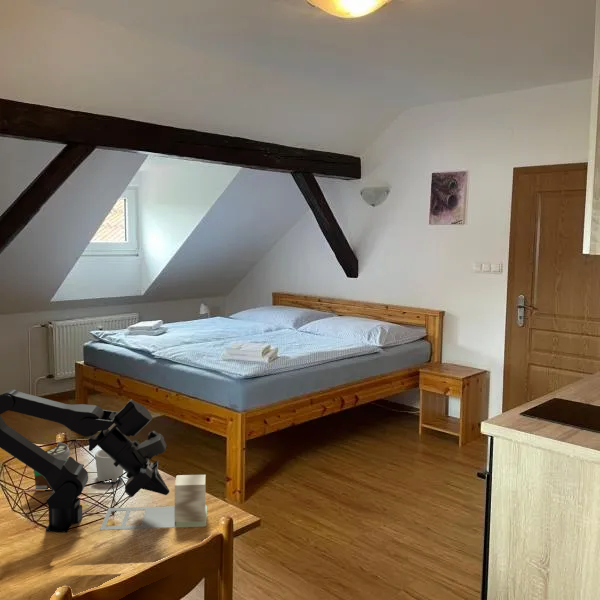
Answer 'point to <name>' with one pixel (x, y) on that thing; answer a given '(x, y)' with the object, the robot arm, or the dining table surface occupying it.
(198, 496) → the block
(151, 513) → the plate
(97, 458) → the cup
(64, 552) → the dining table surface
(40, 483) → the food container
